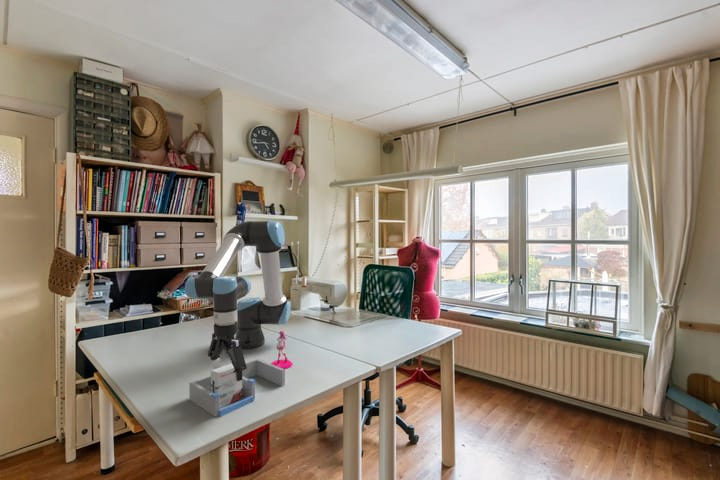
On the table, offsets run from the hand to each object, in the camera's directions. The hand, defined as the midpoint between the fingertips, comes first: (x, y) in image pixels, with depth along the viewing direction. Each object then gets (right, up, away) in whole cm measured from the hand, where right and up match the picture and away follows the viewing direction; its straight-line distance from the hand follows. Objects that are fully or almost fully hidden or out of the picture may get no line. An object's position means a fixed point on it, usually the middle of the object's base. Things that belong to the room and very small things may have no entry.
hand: (226, 383), depth 116 cm
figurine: (+12, -5, +31) cm, 33 cm away
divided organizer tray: (+2, -6, +6) cm, 9 cm away
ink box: (0, -6, 0) cm, 6 cm away
